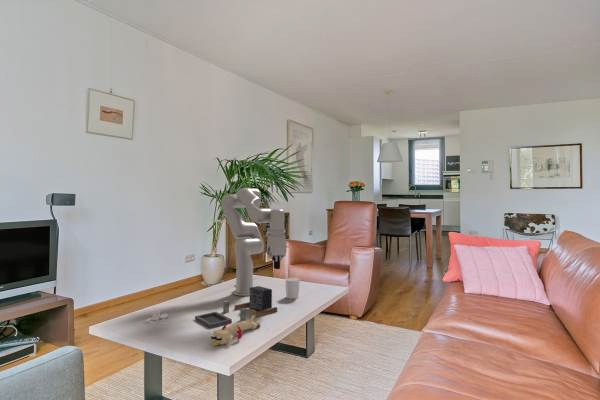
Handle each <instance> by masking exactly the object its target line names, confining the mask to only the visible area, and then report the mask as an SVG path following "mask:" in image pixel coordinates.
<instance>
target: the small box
mask: <svg viewBox="0 0 600 400" xmlns="http://www.w3.org/2000/svg"><path fill="white" fill-rule="evenodd" d="M272 301H273V289H272V288H268V287H265V286H260V285H258V286H256V285H255V286H253V287H251V288H250V295H249V302H250V305H249V307H248V308H249V309H250V310H255V312H258V311H261V310H265V309H269V308H273V307H272V305H273V304H272V303H273V302H272Z"/></svg>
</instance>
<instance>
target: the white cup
mask: <svg viewBox="0 0 600 400" xmlns="http://www.w3.org/2000/svg"><path fill="white" fill-rule="evenodd" d="M300 280H301V279H300V278H297V277H288V278H285V294H286V298H287V299H291V300H292V299H293V300H294V299H298V298H299V292H300Z"/></svg>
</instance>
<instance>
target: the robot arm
mask: <svg viewBox="0 0 600 400" xmlns="http://www.w3.org/2000/svg"><path fill="white" fill-rule="evenodd" d="M261 193H262V192H261V191H260V190H259V189H258V188H255V187H243V188H239V189H238V190H237V192H236V193H233V194H232V193H231V194H226V195H224V196H222V199H221V209H222V213H223V215H224V216H225V217H226V220H227V222H228V225H229V229H230V231H231V234H232V236H233V238H234V239H237V240H236V242H235V243H234V252H235V263H236V265H235V266H236V271H235V272H236V273H235V274H236V278H235V283H236V284H234V288H235V289H234V290H233V295H234V296H239V297H248V296H249V297H250V288H251V287H254V283H253V282H254V263H253V262H254V261H253V259H252V258H251V256H252V255H258V254H261V253H263V251H264V249H265V245H264V243H265V242H264V240H263V237H262V234H261V232H260V230H259V227H258V225H257V224H264V223H265V224H266V223H268V224H269V235H268V237H267V242H266V255H267V258H268V259H271V260H272V261H273V269H275V270H280V269H281V262H282V259H283V258H284V257H286V253H287V238H286V235H285V233H286V230H285V211H284V209H282V208H281V209H280V208H266V207H265V208H260V206H261V204H262V201H261V198H262V194H261ZM236 209H246V213H247V216H248V217H249V218H250V219H251V220H252V221H253V222H252V221H251V222H250V221H249V222H248V221H247V222H245V221H244V219H243V217H242V214H241V213H240V212H239V211H238V210H236ZM254 222H255V223H254ZM256 223H257V224H256Z"/></svg>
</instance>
